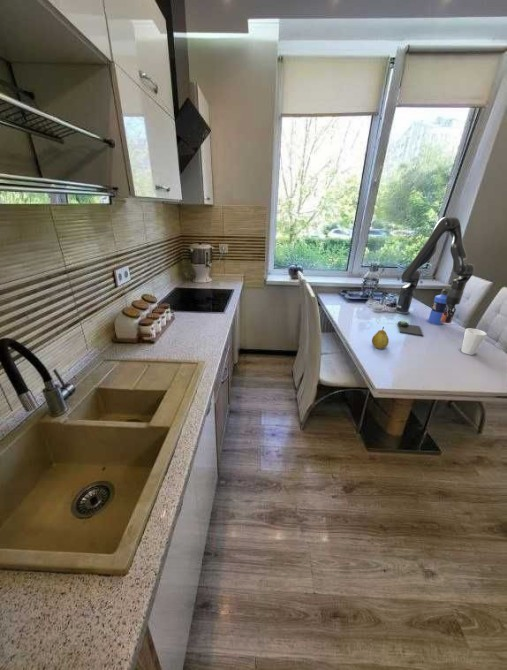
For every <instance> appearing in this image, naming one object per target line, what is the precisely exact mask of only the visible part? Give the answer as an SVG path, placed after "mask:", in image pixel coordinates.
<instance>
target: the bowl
mask: <svg viewBox="0 0 507 670" xmlns="http://www.w3.org/2000/svg"><path fill="white" fill-rule="evenodd" d="M450 315H451V314H450ZM446 317H447V313H443V314H442V317H441V322H443V323H444V324H451V323H452V321H453V319H454V316H453V317H451V319H450V322H445V320H446ZM443 323H442V324H443Z"/></svg>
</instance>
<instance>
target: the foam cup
mask: <svg viewBox="0 0 507 670" xmlns="http://www.w3.org/2000/svg"><path fill="white" fill-rule="evenodd" d="M487 335H488V334H487V332H486V331H484V330H481V329H477V328H471V327H469V328H465V331H464V336H463V341H462V344H461V352H462V353H464V354H466V355H469V356H472V355H475V354H476V353H477V351H478V350H479V348H480V346H481V345H482V343H483V341H484V340H485V339H486V337H487Z"/></svg>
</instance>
